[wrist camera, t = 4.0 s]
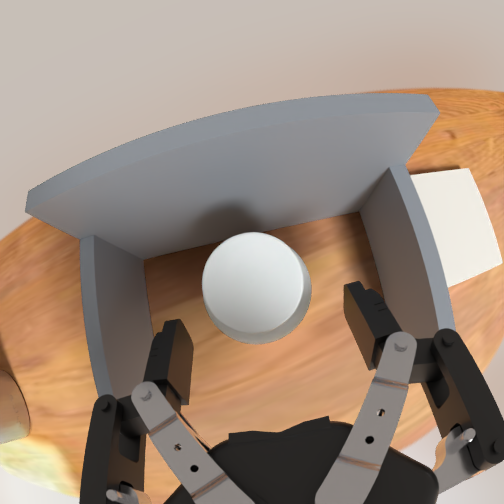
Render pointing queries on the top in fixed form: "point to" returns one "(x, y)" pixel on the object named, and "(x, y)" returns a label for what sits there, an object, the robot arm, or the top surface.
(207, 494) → the robot arm
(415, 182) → the mat
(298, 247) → the top surface
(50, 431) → the top surface
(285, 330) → the supplement bottle
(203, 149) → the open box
